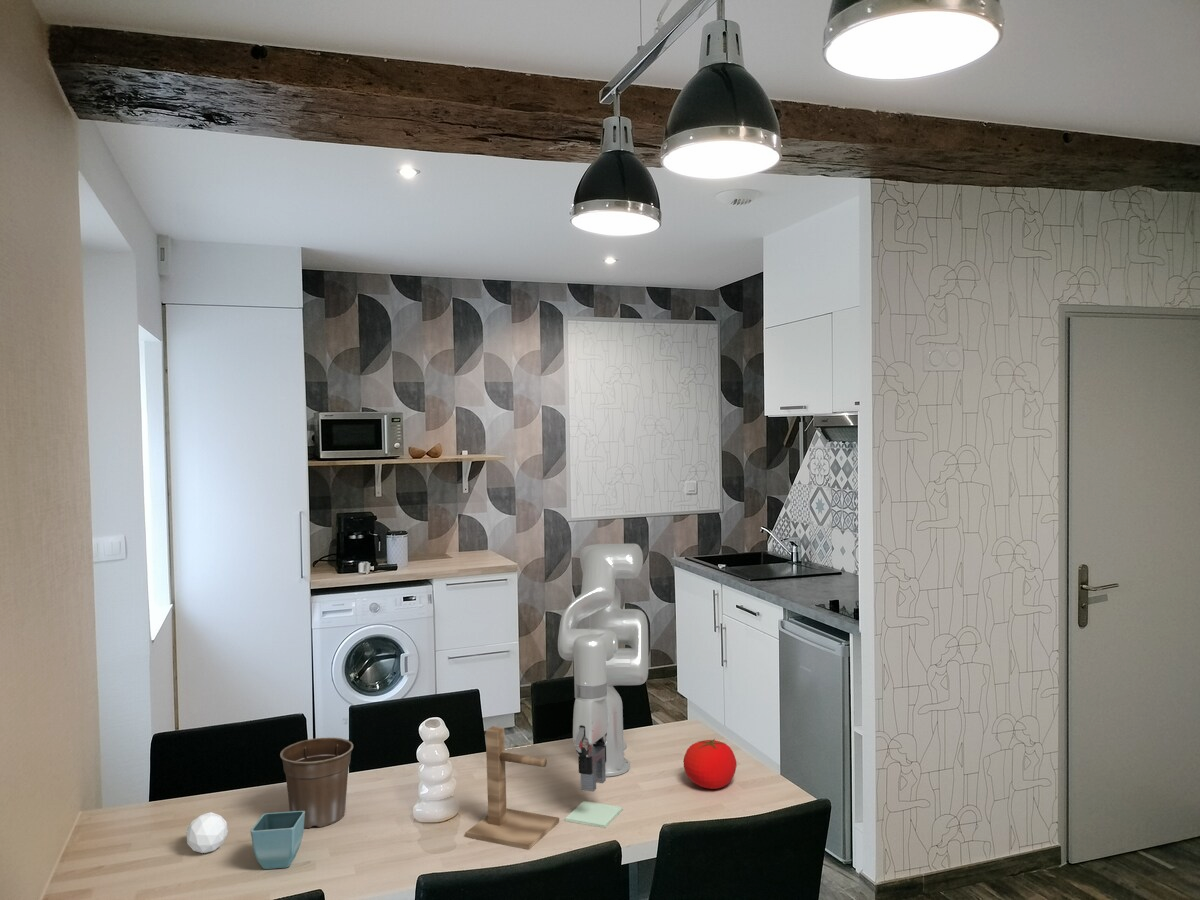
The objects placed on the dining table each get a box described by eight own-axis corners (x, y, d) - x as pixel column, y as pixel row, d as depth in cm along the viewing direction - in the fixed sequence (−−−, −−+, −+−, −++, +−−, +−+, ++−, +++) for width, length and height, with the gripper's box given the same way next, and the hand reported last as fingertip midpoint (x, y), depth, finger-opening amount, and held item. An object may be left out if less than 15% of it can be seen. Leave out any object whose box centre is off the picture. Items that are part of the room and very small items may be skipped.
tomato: (746, 786, 206) (745, 741, 206) (706, 799, 199) (705, 753, 199) (714, 771, 216) (713, 729, 216) (675, 784, 209) (674, 740, 209)
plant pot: (369, 809, 199) (367, 741, 199) (320, 838, 184) (318, 765, 184) (317, 798, 206) (315, 733, 206) (266, 826, 191) (264, 756, 191)
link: (594, 778, 196) (593, 745, 196) (605, 780, 194) (604, 747, 195) (581, 789, 189) (580, 755, 189) (593, 791, 188) (592, 757, 188)
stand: (498, 811, 196) (496, 717, 196) (561, 822, 189) (558, 725, 189) (465, 837, 183) (462, 737, 183) (531, 850, 176) (528, 746, 176)
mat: (584, 803, 199) (584, 800, 199) (622, 809, 195) (622, 807, 195) (565, 820, 190) (565, 818, 190) (605, 828, 186) (605, 825, 186)
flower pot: (264, 854, 178) (263, 812, 178) (306, 851, 178) (305, 809, 178) (250, 875, 169) (249, 831, 169) (295, 872, 170) (294, 828, 170)
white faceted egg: (192, 849, 173) (162, 842, 180) (224, 859, 178) (194, 852, 185) (210, 809, 177) (181, 804, 184) (241, 821, 183) (211, 815, 189)
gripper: (591, 679, 202) (593, 753, 201) (559, 699, 186) (561, 779, 186) (620, 682, 199) (622, 757, 198) (589, 702, 183) (591, 783, 183)
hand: (592, 767), depth 192 cm, fingers closed on link, 7 cm apart
